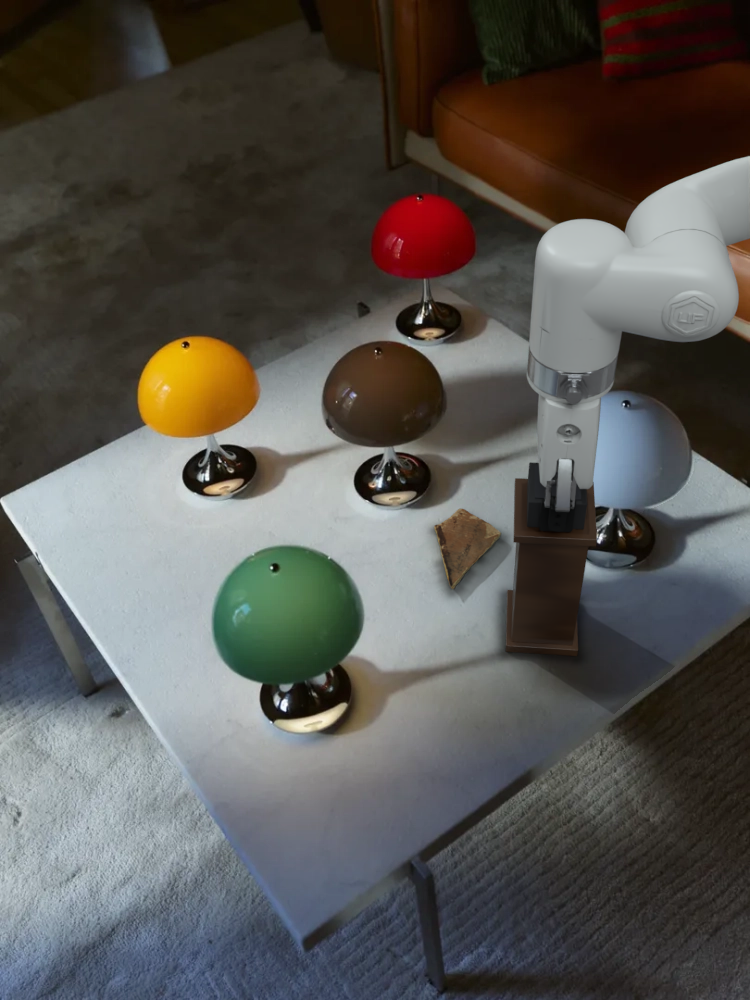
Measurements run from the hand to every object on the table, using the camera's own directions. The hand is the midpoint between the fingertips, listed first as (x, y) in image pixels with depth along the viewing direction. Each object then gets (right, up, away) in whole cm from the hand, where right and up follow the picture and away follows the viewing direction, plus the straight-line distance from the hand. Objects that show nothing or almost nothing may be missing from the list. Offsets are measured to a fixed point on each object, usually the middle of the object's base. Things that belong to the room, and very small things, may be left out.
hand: (555, 504), depth 94 cm
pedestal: (+1, -14, +15) cm, 20 cm away
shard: (-6, -6, +23) cm, 25 cm away
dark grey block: (0, 0, 0) cm, 0 cm away
